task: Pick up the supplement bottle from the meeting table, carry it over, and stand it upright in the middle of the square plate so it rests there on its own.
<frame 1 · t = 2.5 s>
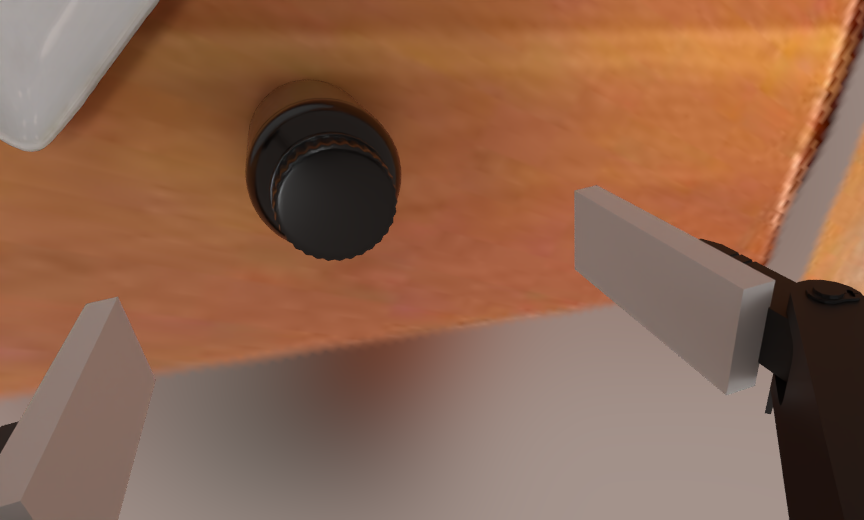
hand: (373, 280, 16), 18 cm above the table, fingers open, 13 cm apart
supplement bottle: (309, 137, 31), on the table
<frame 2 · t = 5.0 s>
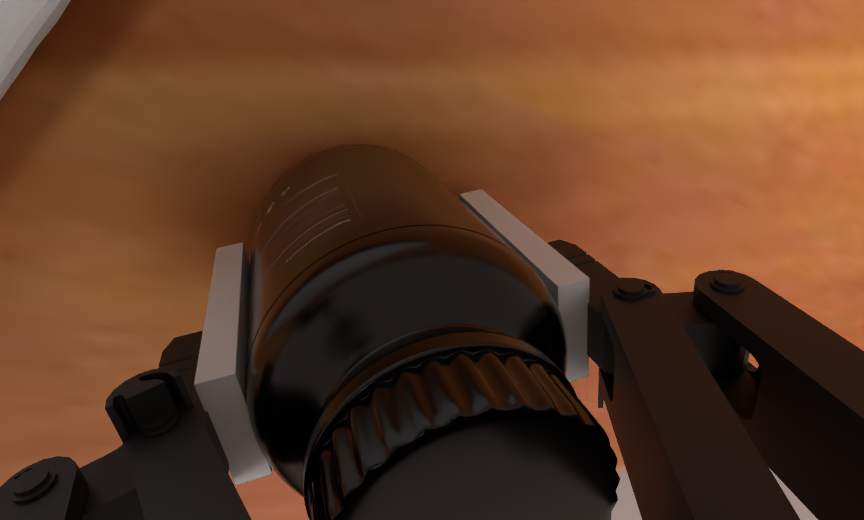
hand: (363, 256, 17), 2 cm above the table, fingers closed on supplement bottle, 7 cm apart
supplement bottle: (354, 236, 19), on the table, touching gripper
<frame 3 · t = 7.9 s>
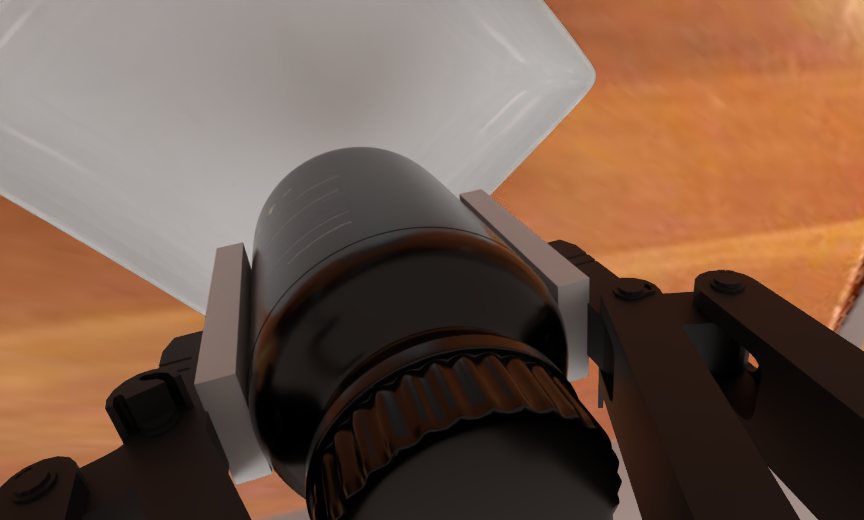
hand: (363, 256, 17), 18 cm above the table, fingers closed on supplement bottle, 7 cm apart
square plate: (279, 80, 32), on the table
supplement bottle: (355, 237, 19), point 16 cm above the table, touching gripper
when the fingers open (7 cm above the table, at t = 11.3 s): supplement bottle drops 2 cm, resting on square plate.
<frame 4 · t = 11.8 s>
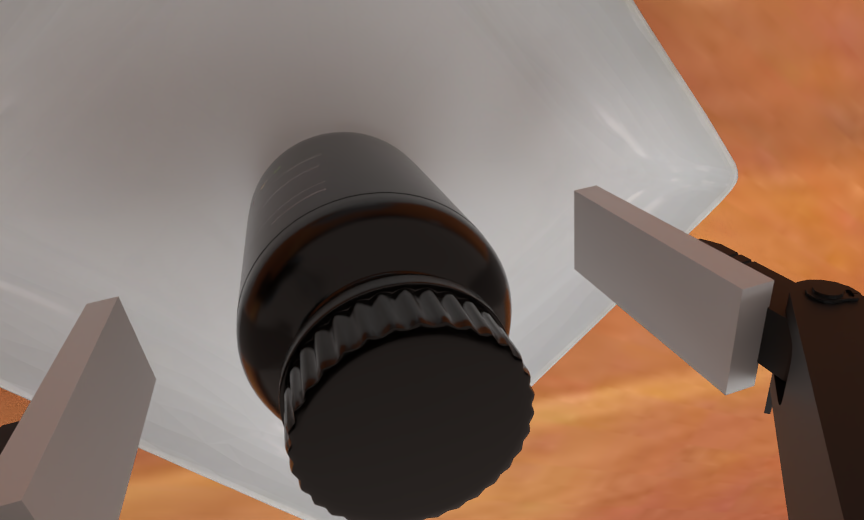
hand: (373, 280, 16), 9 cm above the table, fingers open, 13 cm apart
square plate: (333, 184, 24), on the table, touching supplement bottle
supplement bottle: (341, 214, 21), point 3 cm above the table, touching square plate
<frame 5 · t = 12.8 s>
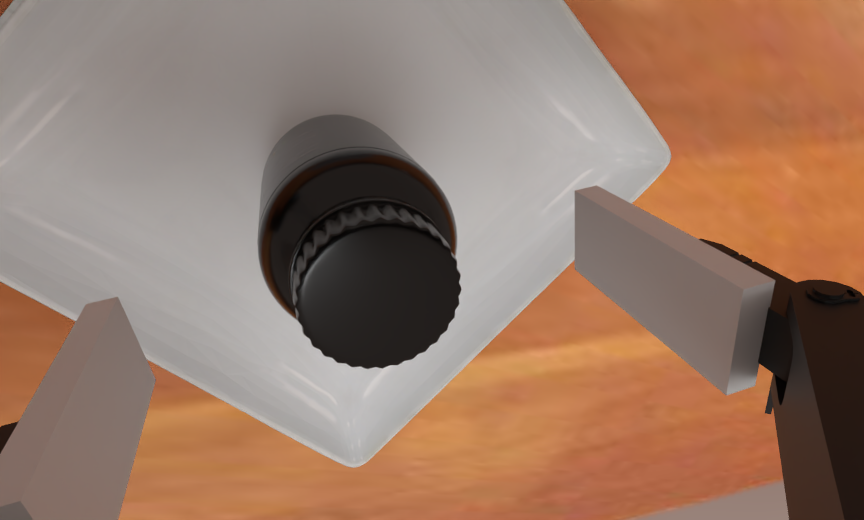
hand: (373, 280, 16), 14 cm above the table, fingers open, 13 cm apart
square plate: (330, 159, 29), on the table, touching supplement bottle
supplement bottle: (335, 182, 26), point 3 cm above the table, touching square plate
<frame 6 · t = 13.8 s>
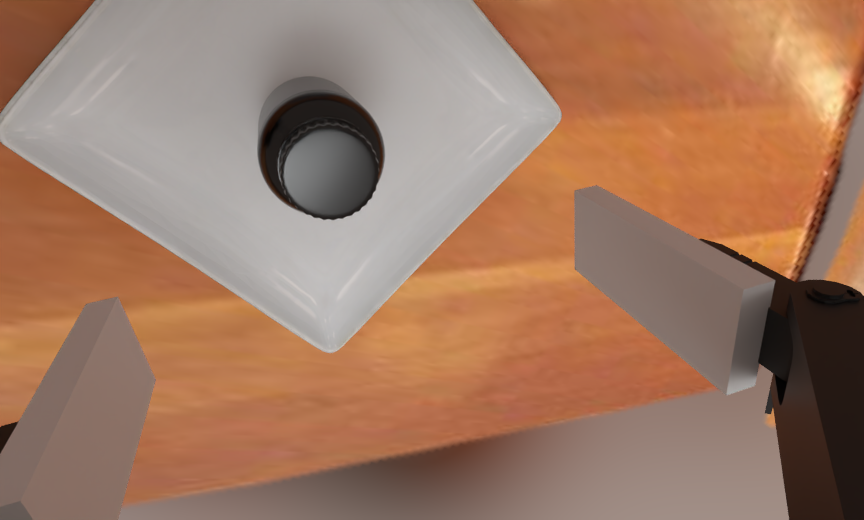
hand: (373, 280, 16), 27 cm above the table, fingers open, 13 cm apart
square plate: (310, 115, 40), on the table, touching supplement bottle
supplement bottle: (310, 126, 36), point 3 cm above the table, touching square plate
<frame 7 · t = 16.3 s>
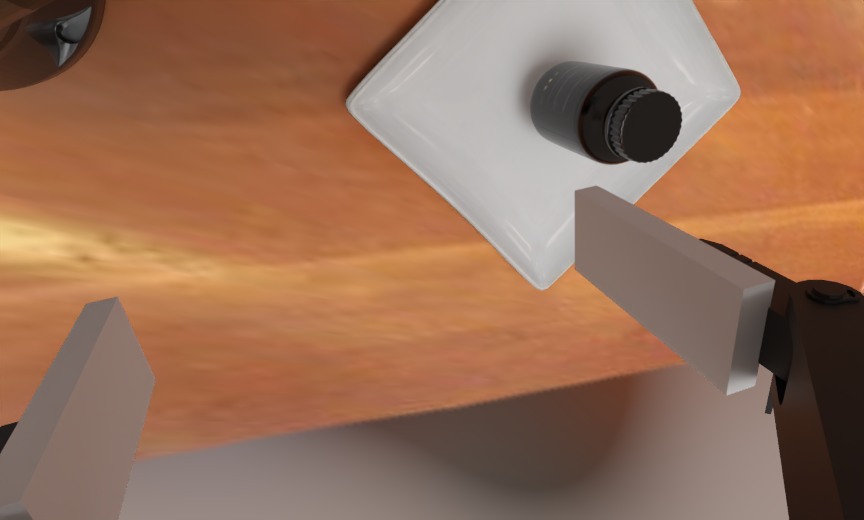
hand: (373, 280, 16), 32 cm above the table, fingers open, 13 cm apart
square plate: (545, 93, 50), on the table, touching supplement bottle
supplement bottle: (562, 101, 46), point 3 cm above the table, touching square plate
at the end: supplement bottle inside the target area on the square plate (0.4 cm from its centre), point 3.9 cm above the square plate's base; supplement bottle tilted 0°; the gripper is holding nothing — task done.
